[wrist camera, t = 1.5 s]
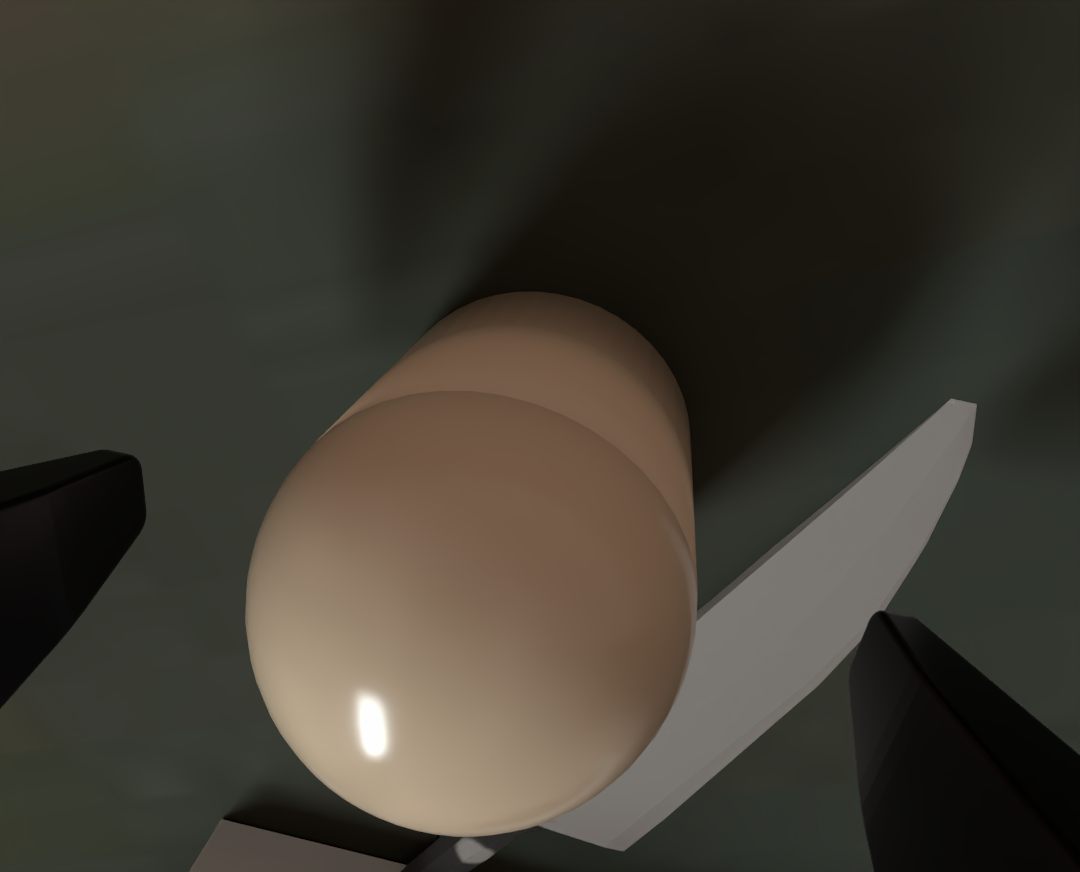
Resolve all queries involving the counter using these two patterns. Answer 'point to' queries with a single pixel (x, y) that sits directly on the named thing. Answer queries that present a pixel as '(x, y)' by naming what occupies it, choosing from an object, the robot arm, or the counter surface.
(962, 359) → the counter surface
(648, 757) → the chef's knife
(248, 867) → the egg carton
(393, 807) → the tan egg
